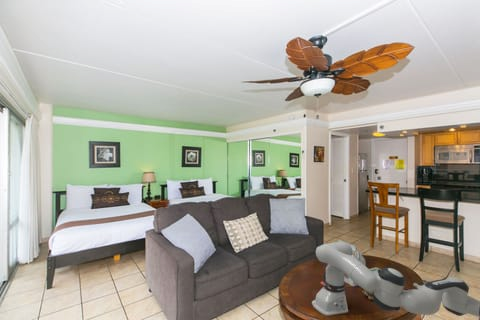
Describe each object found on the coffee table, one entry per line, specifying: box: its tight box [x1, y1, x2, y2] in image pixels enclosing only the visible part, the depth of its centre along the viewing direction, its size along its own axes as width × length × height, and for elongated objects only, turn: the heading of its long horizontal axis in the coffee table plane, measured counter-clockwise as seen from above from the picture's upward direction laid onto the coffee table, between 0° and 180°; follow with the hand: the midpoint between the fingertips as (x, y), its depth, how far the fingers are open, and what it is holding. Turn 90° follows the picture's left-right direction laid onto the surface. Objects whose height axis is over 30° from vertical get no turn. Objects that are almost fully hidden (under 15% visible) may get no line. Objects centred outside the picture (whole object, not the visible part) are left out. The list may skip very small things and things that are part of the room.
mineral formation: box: [362, 290, 374, 300], centre depth 147 cm, size 8×13×15 cm
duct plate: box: [368, 267, 382, 274], centre depth 176 cm, size 14×14×4 cm
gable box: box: [338, 239, 367, 288], centre depth 174 cm, size 22×13×28 cm, turn 21°
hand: (418, 282), depth 143 cm, fingers open, 8 cm apart
